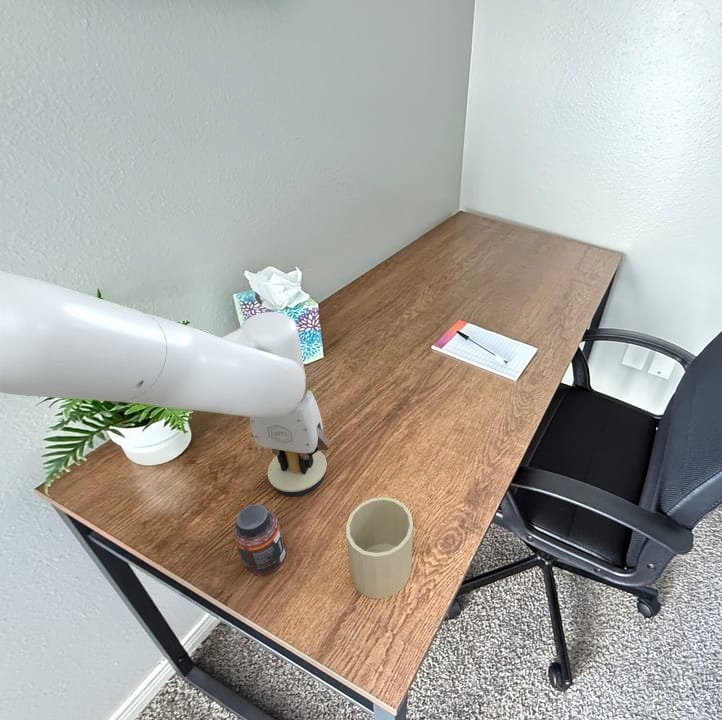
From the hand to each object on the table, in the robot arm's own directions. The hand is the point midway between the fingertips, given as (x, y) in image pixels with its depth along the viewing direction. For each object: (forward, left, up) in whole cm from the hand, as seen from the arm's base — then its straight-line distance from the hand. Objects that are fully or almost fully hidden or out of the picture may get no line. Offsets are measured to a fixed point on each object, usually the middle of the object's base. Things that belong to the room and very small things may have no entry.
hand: (297, 465), depth 82 cm
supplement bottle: (-4, -15, -3) cm, 16 cm away
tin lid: (0, 0, -1) cm, 1 cm away
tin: (+13, -20, -3) cm, 24 cm away
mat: (0, 0, -3) cm, 3 cm away
